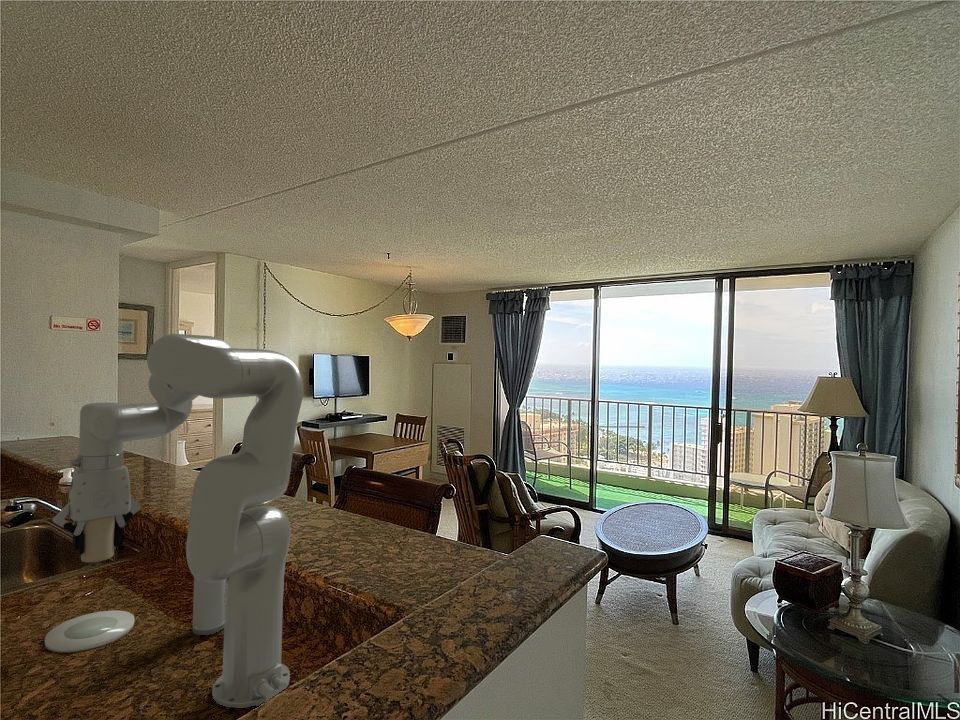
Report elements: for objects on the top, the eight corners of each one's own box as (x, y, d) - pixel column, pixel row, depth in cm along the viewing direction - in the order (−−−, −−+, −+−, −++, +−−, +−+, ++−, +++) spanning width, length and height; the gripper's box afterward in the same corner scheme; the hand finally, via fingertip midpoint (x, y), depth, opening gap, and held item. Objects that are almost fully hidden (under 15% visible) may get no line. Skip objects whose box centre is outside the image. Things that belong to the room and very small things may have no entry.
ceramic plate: (144, 631, 109) (144, 626, 109) (53, 661, 98) (54, 655, 98) (122, 608, 119) (122, 603, 119) (37, 633, 107) (37, 628, 107)
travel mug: (184, 632, 109) (187, 537, 109) (213, 618, 115) (215, 529, 115) (203, 640, 106) (206, 543, 106) (231, 626, 112) (234, 534, 112)
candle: (85, 565, 104) (87, 515, 104) (77, 558, 107) (78, 509, 107) (117, 557, 108) (119, 509, 108) (108, 550, 111) (110, 504, 111)
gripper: (52, 470, 98) (48, 565, 98) (153, 459, 112) (150, 543, 112) (44, 464, 103) (40, 555, 103) (142, 454, 116) (139, 534, 116)
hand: (97, 548), depth 107 cm, fingers closed on candle, 5 cm apart
